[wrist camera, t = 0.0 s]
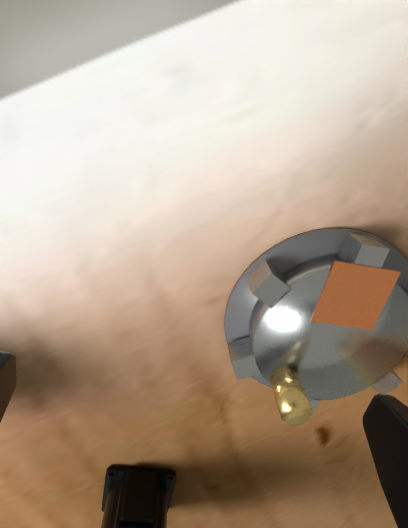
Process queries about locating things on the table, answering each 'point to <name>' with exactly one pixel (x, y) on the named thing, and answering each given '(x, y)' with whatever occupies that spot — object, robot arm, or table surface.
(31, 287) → the table surface
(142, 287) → the table surface
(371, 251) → the sprocket
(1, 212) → the table surface
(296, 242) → the sprocket base
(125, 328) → the table surface
